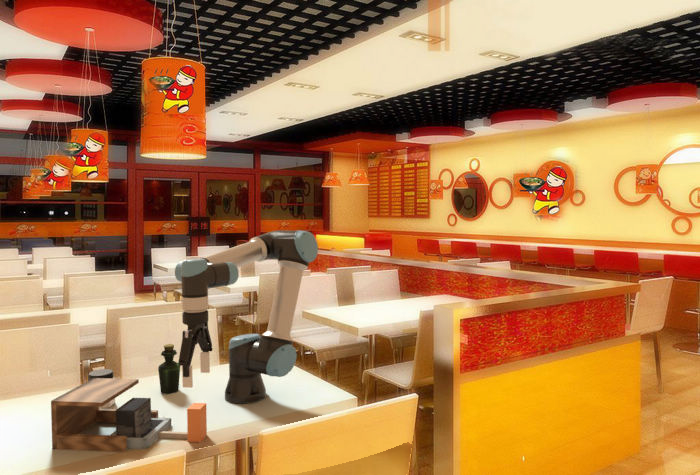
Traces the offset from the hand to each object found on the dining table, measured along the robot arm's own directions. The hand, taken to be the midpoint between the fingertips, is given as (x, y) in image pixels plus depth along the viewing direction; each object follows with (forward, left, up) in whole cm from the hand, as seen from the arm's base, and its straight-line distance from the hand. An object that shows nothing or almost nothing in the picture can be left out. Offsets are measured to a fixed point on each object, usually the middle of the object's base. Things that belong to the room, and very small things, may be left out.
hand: (196, 379), depth 154 cm
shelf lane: (+29, 0, -18) cm, 34 cm away
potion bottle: (+27, -39, -18) cm, 51 cm away
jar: (+45, -23, -18) cm, 54 cm away
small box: (+20, +1, -18) cm, 27 cm away
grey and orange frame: (+11, 0, -18) cm, 21 cm away
